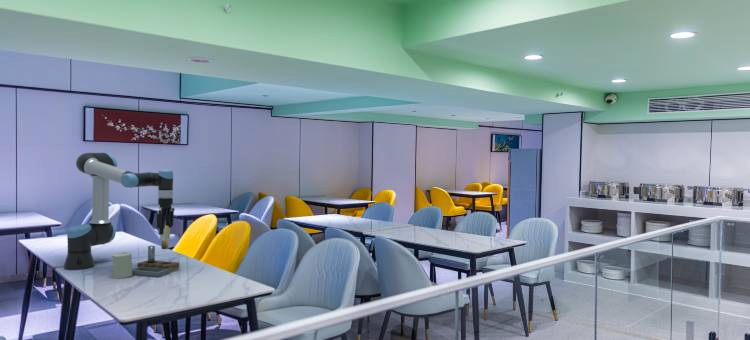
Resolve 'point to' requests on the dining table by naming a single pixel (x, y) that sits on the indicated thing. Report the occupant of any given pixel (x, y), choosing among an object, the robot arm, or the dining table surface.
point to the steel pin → (151, 254)
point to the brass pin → (165, 242)
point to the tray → (150, 271)
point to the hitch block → (161, 265)
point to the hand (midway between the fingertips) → (164, 239)
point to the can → (122, 265)
